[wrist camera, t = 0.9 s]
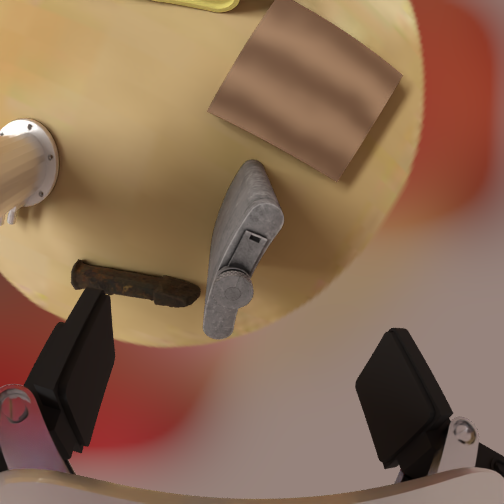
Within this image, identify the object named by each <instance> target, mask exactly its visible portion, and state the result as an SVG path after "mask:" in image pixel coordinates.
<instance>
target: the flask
mask: <svg viewBox="0 0 504 504" xmlns="http://www.w3.org/2000/svg"><path fill="white" fill-rule="evenodd" d="M283 224H284V215H283V212H282V210H281V207H280V205H279V203H278V200H277V198H276V195H275V193H274V191H273V188H272V186H271V183H270V181H269V179H268V176H267V174H266V172H265V169H264V167H263V165H262V164H261V163H260V162H259V161H257V160H248V161H246V162H245V163H244V164H243V165H242V166H241V168H240V170H239V171H238V173H237V174H236V176H235V178H234V179H233V181H232V183H231V185H230V187H229V189H228V191H227V193H226V195H225V198H224V200H223V203H222V205H221V208H220V211H219V213H218V216H217V220H216V223H215V227H214V231H213V236H212V241H211V249H210V258H209V268H208V278H207V288H206V298H205V309H204V320H203V331H204V333H205V334H206V335H207V336H209V337H211V338H213V339H224V338H227V337H228V336H230V335H231V334H232V332H233V329H234V323H235V319H236V315H237V311H238V308H241V307H244V306H245V305H247V304H248V303H249V302H250V301H251V299H252V297H253V294H254V293H253V286H252V285H253V284H252V281H251V280H250V279H251V276H252V274H253V272H254V270H255V268H256V266H257V265H258V263H259V261H260V259H261V258H262V256H263V254H264V253H265V251H266V249H267V248H268V246H269V245H270V243H271V242H272V240H273V239H274V238H275V236H276V235H277V234H278V232H279V231H280V230H281V228H282V226H283Z"/></svg>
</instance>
